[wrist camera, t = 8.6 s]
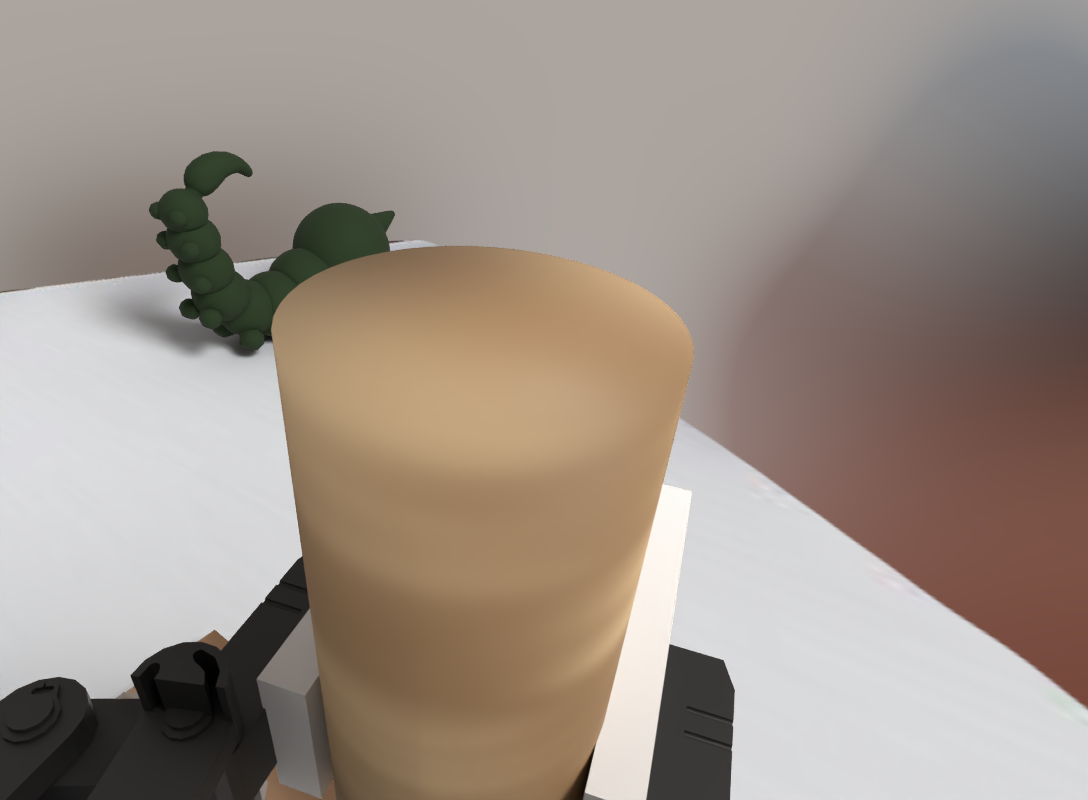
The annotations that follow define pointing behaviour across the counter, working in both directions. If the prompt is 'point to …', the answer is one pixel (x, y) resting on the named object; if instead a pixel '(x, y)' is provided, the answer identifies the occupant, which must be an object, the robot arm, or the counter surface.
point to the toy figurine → (255, 301)
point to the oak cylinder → (473, 508)
